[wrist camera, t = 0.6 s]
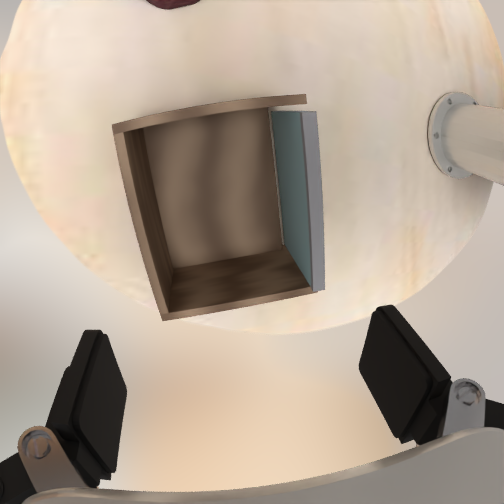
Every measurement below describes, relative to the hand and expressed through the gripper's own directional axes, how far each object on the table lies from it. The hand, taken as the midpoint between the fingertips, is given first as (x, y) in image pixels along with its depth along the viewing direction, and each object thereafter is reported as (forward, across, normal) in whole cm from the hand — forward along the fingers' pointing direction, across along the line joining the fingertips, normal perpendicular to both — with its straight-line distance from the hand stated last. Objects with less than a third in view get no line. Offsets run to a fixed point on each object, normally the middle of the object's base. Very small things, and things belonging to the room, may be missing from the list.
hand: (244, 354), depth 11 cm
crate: (+26, 0, +1) cm, 27 cm away
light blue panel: (+25, -8, 0) cm, 27 cm away
